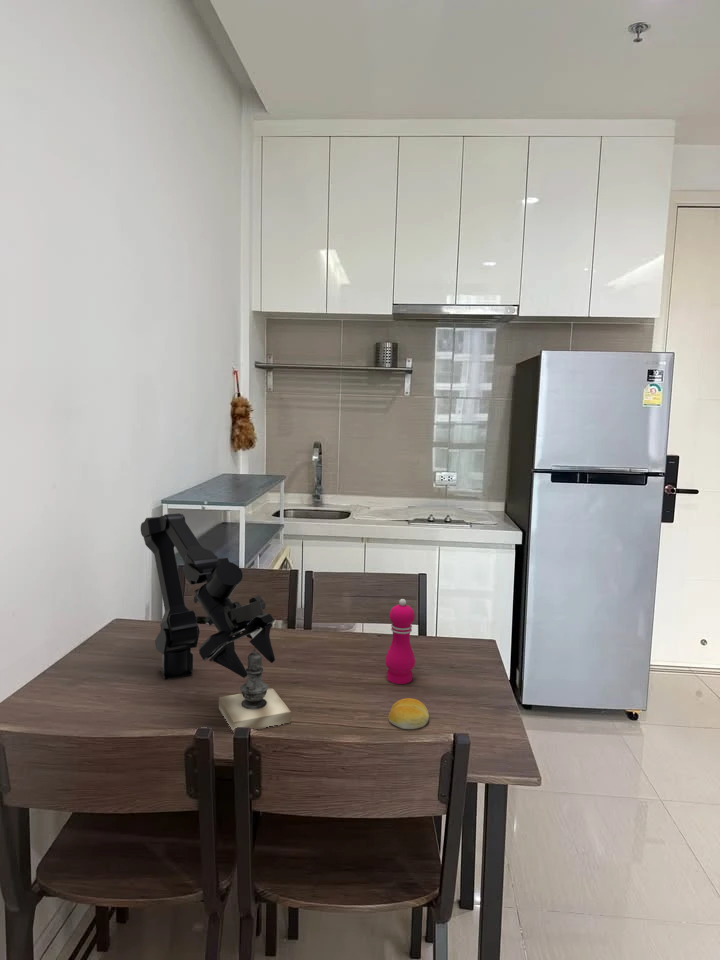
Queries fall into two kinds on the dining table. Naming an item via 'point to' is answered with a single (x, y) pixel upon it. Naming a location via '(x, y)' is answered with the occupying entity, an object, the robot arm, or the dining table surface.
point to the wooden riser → (254, 711)
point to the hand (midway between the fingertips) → (260, 668)
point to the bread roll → (408, 714)
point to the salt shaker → (254, 683)
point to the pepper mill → (400, 645)
